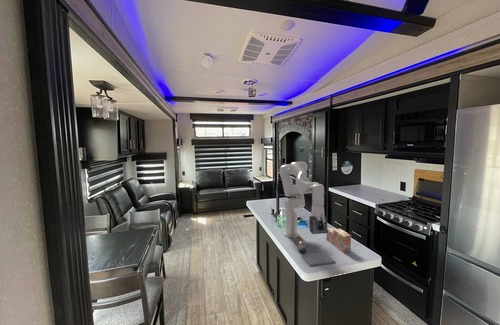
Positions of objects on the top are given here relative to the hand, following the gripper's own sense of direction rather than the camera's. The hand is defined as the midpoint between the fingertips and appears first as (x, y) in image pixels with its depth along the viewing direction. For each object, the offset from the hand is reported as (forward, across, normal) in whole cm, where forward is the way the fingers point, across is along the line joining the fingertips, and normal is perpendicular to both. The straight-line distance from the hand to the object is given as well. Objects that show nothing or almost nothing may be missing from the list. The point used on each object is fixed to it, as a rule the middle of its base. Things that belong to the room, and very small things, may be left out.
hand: (318, 227), depth 148 cm
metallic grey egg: (+20, -9, -8) cm, 23 cm away
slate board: (+20, +3, -2) cm, 21 cm away
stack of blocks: (+20, -11, +22) cm, 32 cm away
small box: (+3, 0, 0) cm, 3 cm away
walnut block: (+20, -20, -6) cm, 29 cm away
